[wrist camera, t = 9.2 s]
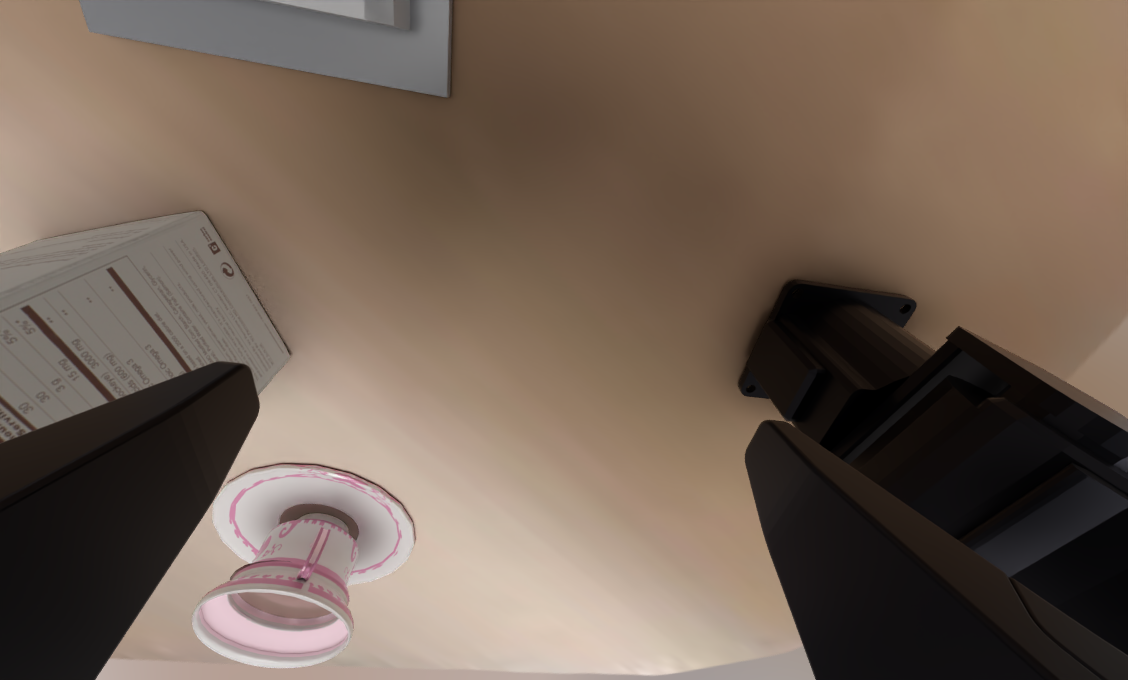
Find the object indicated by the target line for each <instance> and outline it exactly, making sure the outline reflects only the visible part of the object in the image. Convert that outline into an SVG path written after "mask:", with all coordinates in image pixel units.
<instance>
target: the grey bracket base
mask: <svg viewBox="0 0 1128 680" xmlns="http://www.w3.org/2000/svg"><path fill="white" fill-rule="evenodd" d="M79 2H80V5H81V8H82V11H83V14H84V17H85V20H86V23H87V26H88V29H89V32H94V33H99V34H104V35H110V36H115V37H121V38H126V39H132V40H137V41H142V42H148V43H153V44H159V45H164V46H170V47H175V48H180V49H186V50H191V51H197V52H202V53H208V54H213V55H218V56H224V57H229V58H235V59H240V60H246V61H251V62H256V63H262V64H267V65H273V66H278V67H284V68H289V69H294V70H300V71H305V72H311V73H316V74H322V75H327V76H332V77H338V78H343V79H349V80H354V81H360V82H365V83H370V84H376V85H381V86H387V87H392V88H398V89H403V90H408V91H414V92H419V93H425V94H430V95H436V96H441V97H446V98H447V97H450V79H451V41H452V4H453V0H79Z"/></svg>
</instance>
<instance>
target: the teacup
mask: <svg viewBox="0 0 1128 680" xmlns="http://www.w3.org/2000/svg"><path fill="white" fill-rule="evenodd" d="M301 504H321V505H326V506H330V507H333V508H336V509H338V510H340V511H343V512H344V513H346V514H347V515H348V516H350V517H351V518H352V519H353V520H354V521H355V523H356V524H357V526H358V530H359V534H358V537H357V539H356V540H354V539H353V537H352V536H350V535H349V530H348V527H347V526H346V524H345V523H344V522H343V521H341V520H340V519H338V518H336V517H334V516H331V515H327V514H322V513H311V514H306V515H304V516H302V517H300V518H299V519H297V520H293V521H288V522H285V523H282V524H280V517H281V515H282V514H283V513H284V511H285V510H287V509H289V508H291V507H293V506H295V505H301ZM212 523H213V525H214V526H215V528H216V530H217V532H218V534H219V536H220V538H221V540H222V541H223V542H224V543H225V544H226V545H227V546H228V547H229V548H230V549H231V550H232V551H233V552H234V553H235V554H236V555H238V556H239V557H240V558H241V559H243V560H245V561H246V562H248V563H250V564H247V565H244V566H243V567H241V568H239V569H238V570H236V571H235V572H234V573H233V575H232V576H231V578H230V581H228V582H225V583H223V584H221V585H219V586H218V587H216V588H214V589H213V590H211V591H210V592H208V593H207V594H206V595H205V596H204V597H203V598H202V599H201V600H200V601H199V603H198V604H197V606H196V608H195V610H194V612H193V614H192V626H193V629H194V632H195V634H196V635H197V637H198V638H199V639H200V640H201V642H203V643H204V644H205V645H206V646H207V647H209V648H210V649H211V650H213V651H215V652H216V653H218V654H220V655H222V656H225V657H227V658H229V659H232V660H235V661H238V662H241V663H245V664H249V665H254V666H260V667H269V668H297V667H305V666H310V665H315V664H318V663H321V662H324V661H326V660H329V659H331V658H333V657H334V656H336V655H337V654H339V653H340V652H342V651H343V650H344V649H345V648H346V647H347V645H348V644H349V642H350V640H351V637H352V634H353V629H354V622H353V618H352V614H351V611H350V610H349V608H348V607H347V606H348V604H349V593H348V589H347V586H348V585H354V584H360V583H365V582H371V581H374V580H377V579H379V578H381V577H384V576H386V575H388V574H391V573H393V572H394V571H395V570H397V569H398V568H399V567H400V566H401V565H402V564H403V563H405V562H406V561H407V560H408V557H409V555H410V553H411V550H412V548H413V546H414V543H415V535H414V527H413V522H412V520H411V519H410V517H409V516H408V514H407V513H406V511H405V510H404V508H403V506H402V505H401V504H400V503H399V502H398V501H396V500H395V499H394V498H393V497H391V496H390V495H389V494H388V493H386V492H385V491H384V490H383V489H381V488H380V487H378V486H376V485H374V484H372V483H370V482H368V481H365V480H363V479H361V478H359V477H357V476H355V475H353V474H350V473H346V472H342V471H338V470H334V469H329V468H325V467H321V466H317V465H292V464H280V465H275V466H269V467H264V468H259V469H254V470H250V471H248V472H246V473H245V474H243V475H241V476H239V477H237V478H235V479H233V480H232V481H230V482H228V483H227V485H226V486H225V487H224V489H223V490H222V491H221V493H220V494H219V495H218V497H217V498H216V500H215V501H214V502H213V515H212Z"/></svg>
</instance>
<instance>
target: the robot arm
mask: <svg viewBox="0 0 1128 680" xmlns="http://www.w3.org/2000/svg"><path fill="white" fill-rule="evenodd" d="M796 289H799V291H798V292H797V293H796V294H794V295H792V293H793V292H794V291H795V290H796ZM902 306H904V307H903V308H901V307H902ZM900 308H901V309H900ZM915 309H916V302H915V301H914V300H913V299H911V298H909V297H907V296H904V295H897V294H890V293H883V292H877V291H870V290H863V289H856V288H849V287H843V286H836V285H829V284H822V283H815V282H808V281H802V280H793V281H791V282H789V283H788V284H786V286H785V287H784V288H783V291H782V293H781V295H780V297H779V299H778V301H777V303H776V305H775V308H774V310H773V312H772V314H771V316H770V318H769V320H768V322H767V323H766V324H765V326H764V328H763V330H762V332H761V335H760V337H759V339H758V341H757V343H756V345H755V347H754V350H753V352H752V354H751V356H750V358H749V360H748V362H747V367H746V369H745V371H744V373H743V375H742V378H741V380H740V382H739V385H738V387H739V390H740V391H741V393H742V394H743V395H744V396H749V397H758V398H767V399H770V400H771V401H772V402H773V404H774V405H775V407H776V408H777V410H778V411H779V412H780V414H781V415H782V417H783V418H784V419H785V420H786V421H790V422H792V424H793V425H794V426H795V427H793V426H792V425H791V424H789V423H787V422H784V421H775V420H765V421H763V422H762V423H761V424H760V425H759V427H758V429H757V431H756V433H755V434H754V436H753V438H752V440H751V442H750V444H749V445H748V447H747V449H746V453H745V464H746V468H747V472H748V476H749V480H750V484H751V488H752V492H753V496H754V500H755V504H756V508H757V511H758V515H759V519H760V523H761V527H762V531H763V534H764V537H765V541H766V544H767V547H768V550H769V553H770V555H771V558H772V561H773V564H774V566H775V569H776V572H777V575H778V577H779V580H780V583H781V586H782V588H783V591H784V594H785V597H786V599H787V602H788V605H789V608H790V610H791V613H792V616H793V619H794V621H795V624H796V627H797V630H798V632H799V635H800V638H801V641H802V643H803V646H804V649H805V652H806V654H807V657H808V660H809V663H810V665H811V668H812V671H813V674H814V676H815V679H816V680H1128V419H1127V418H1126V417H1124V416H1123V415H1121V414H1120V413H1118V412H1117V411H1115V410H1113V409H1111V408H1110V407H1108V406H1106V405H1105V404H1103V403H1101V402H1099V401H1098V400H1096V399H1094V398H1093V397H1091V396H1089V395H1087V394H1086V393H1084V392H1082V391H1081V390H1079V389H1077V388H1075V387H1074V386H1072V385H1070V384H1068V383H1067V382H1065V381H1063V380H1061V379H1060V378H1058V377H1056V376H1054V375H1053V374H1051V373H1049V372H1047V371H1046V370H1044V369H1042V368H1040V367H1038V366H1036V365H1034V364H1032V363H1030V362H1028V361H1026V360H1025V359H1023V358H1021V357H1019V356H1017V355H1015V354H1013V353H1011V352H1009V351H1007V350H1005V349H1003V348H1001V347H999V346H997V345H995V344H993V343H991V342H989V341H987V340H985V339H983V338H981V337H979V336H978V335H976V334H974V333H972V332H970V331H968V330H966V329H964V328H962V327H960V326H958V327H957V328H956V329H955V330H954V331H953V332H952V333H951V334H950V335H949V336H948V337H947V338H946V339H948V341H947V342H946V343H945V344H944V345H943V346H941V347H940V348H939V349H938V350H937V351H934V350H933V349H932V348H930V347H929V346H927V345H926V344H924V343H923V342H922V341H920V340H919V339H917V338H916V337H915V336H913V335H912V334H910V333H909V332H907V331H906V330H905V329H903V327H904V326H905V324H906V323H907V321H908V320H909V318H910V317H911V315H912V314H913V312H914V311H915ZM750 385H752V386H751V387H749V388H747V387H748V386H750ZM259 408H260V403H259V398H258V394H257V390H256V386H255V382H254V378H253V374H252V371H251V369H250V367H249V366H248V365H246V364H244V363H236V362H227V361H217V362H214V363H211V364H208V365H206V366H203V367H200V368H198V369H195V370H192V371H190V372H187V373H184V374H182V375H179V376H177V377H174V378H171V379H169V380H166V381H163V382H161V383H158V384H155V385H153V386H150V387H147V388H145V389H142V390H139V391H137V392H134V393H132V394H129V395H126V396H124V397H121V398H118V399H116V400H113V401H110V402H108V403H105V404H102V405H100V406H97V407H94V408H92V409H89V410H87V411H84V412H81V413H79V414H76V415H73V416H71V417H68V418H65V419H63V420H60V421H57V422H55V423H52V424H49V425H47V426H44V427H42V428H39V429H36V430H34V431H31V432H28V433H26V434H23V435H20V436H18V437H15V438H12V439H10V440H7V441H4V442H2V443H0V680H95V679H96V678H97V676H98V675H99V673H100V672H101V670H102V669H103V667H104V666H105V664H106V663H107V661H108V660H109V658H110V657H111V655H112V654H113V652H114V651H115V649H116V647H117V646H118V644H119V643H120V641H121V640H122V638H123V637H124V635H125V634H126V632H127V631H128V629H129V628H130V626H131V625H132V623H133V622H134V620H135V619H136V617H137V616H138V614H139V613H140V611H141V610H142V608H143V607H144V605H145V604H146V602H147V601H148V599H149V598H150V596H151V595H152V593H153V592H154V590H155V589H156V587H157V586H158V584H159V583H160V581H161V580H162V578H163V576H164V575H165V573H166V572H167V570H168V569H169V567H170V566H171V564H172V563H173V561H174V560H175V558H176V557H177V555H178V554H179V552H180V551H181V549H182V548H183V546H184V545H185V543H186V542H187V540H188V539H189V537H190V536H191V534H192V533H193V531H194V530H195V528H196V527H197V525H198V524H199V522H200V521H201V519H202V518H203V516H204V515H205V513H206V511H207V510H208V508H209V507H210V505H211V503H212V502H213V500H214V498H215V497H216V495H217V493H218V491H219V490H220V488H221V486H222V484H223V482H224V480H225V478H226V476H227V474H228V472H229V470H230V469H231V467H232V465H233V463H234V461H235V459H236V457H237V455H238V453H239V451H240V449H241V447H242V445H243V443H244V442H245V440H246V438H247V436H248V434H249V432H250V430H251V428H252V426H253V424H254V422H255V420H256V418H257V416H258V413H259Z"/></svg>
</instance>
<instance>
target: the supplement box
mask: <svg viewBox="0 0 1128 680" xmlns="http://www.w3.org/2000/svg"><path fill="white" fill-rule="evenodd" d="M289 359H290V355H289V353H288V351H287V348H286V347H285V345H284V344H283V342H282V340H281V338H280V336H279V335H278V333H277V331H276V330H275V328H274V326H273V325H272V323H271V321H270V319H269V318H268V316H267V314H266V313H265V311H264V310H263V308H262V306H261V304H260V303H259V301H258V299H257V298H256V296H255V294H254V293H253V291H252V289H251V288H250V286H249V284H248V283H247V281H246V279H245V278H244V276H243V275H242V273H241V271H240V269H239V268H238V266H237V264H236V263H235V261H234V259H233V258H232V256H231V254H230V253H229V251H228V250H227V248H226V246H225V245H224V243H223V242H222V240H221V238H220V237H219V235H218V233H217V232H216V230H215V228H214V227H213V225H212V224H211V222H210V221H209V219H208V217H207V216H206V215H205V214H204V213H203V212H202V211H194V212H188V213H181V214H175V215H168V216H163V217H157V218H152V219H146V220H140V221H135V222H130V223H125V224H119V225H114V226H109V227H104V228H99V229H93V230H88V231H83V232H78V233H73V234H68V235H62V236H57V237H52V238H47V239H42V240H36V241H34V242H32V243H29V244H26V245H24V246H21V247H18V248H15V249H12V250H9V251H6V252H3V253H0V443H2V442H4V441H7V440H10V439H12V438H15V437H18V436H20V435H23V434H26V433H28V432H31V431H34V430H36V429H39V428H42V427H44V426H47V425H49V424H52V423H55V422H57V421H60V420H63V419H65V418H68V417H71V416H73V415H76V414H79V413H81V412H84V411H87V410H89V409H92V408H94V407H97V406H100V405H102V404H105V403H108V402H110V401H113V400H116V399H118V398H121V397H124V396H126V395H129V394H132V393H134V392H137V391H139V390H142V389H145V388H147V387H150V386H153V385H155V384H158V383H161V382H163V381H166V380H169V379H171V378H174V377H177V376H179V375H182V374H184V373H187V372H190V371H192V370H195V369H198V368H200V367H203V366H206V365H208V364H211V363H214V362H217V361H227V362H236V363H244V364H246V365H248V366H249V367H250V369H251V371H252V374H253V378H254V382H255V386H256V390H257V394H258V395H259V394H260V393H261V392H262V390H263V389H264V388H265V387H266V386H267V385H268V383H269V382H270V381H271V380H272V379H273V377H274V376H275V375H276V374H277V373H278V371H279V370H280V369H281V368H282V367H283V366H284V365H285V364H286V362H287V361H288V360H289Z"/></svg>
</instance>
